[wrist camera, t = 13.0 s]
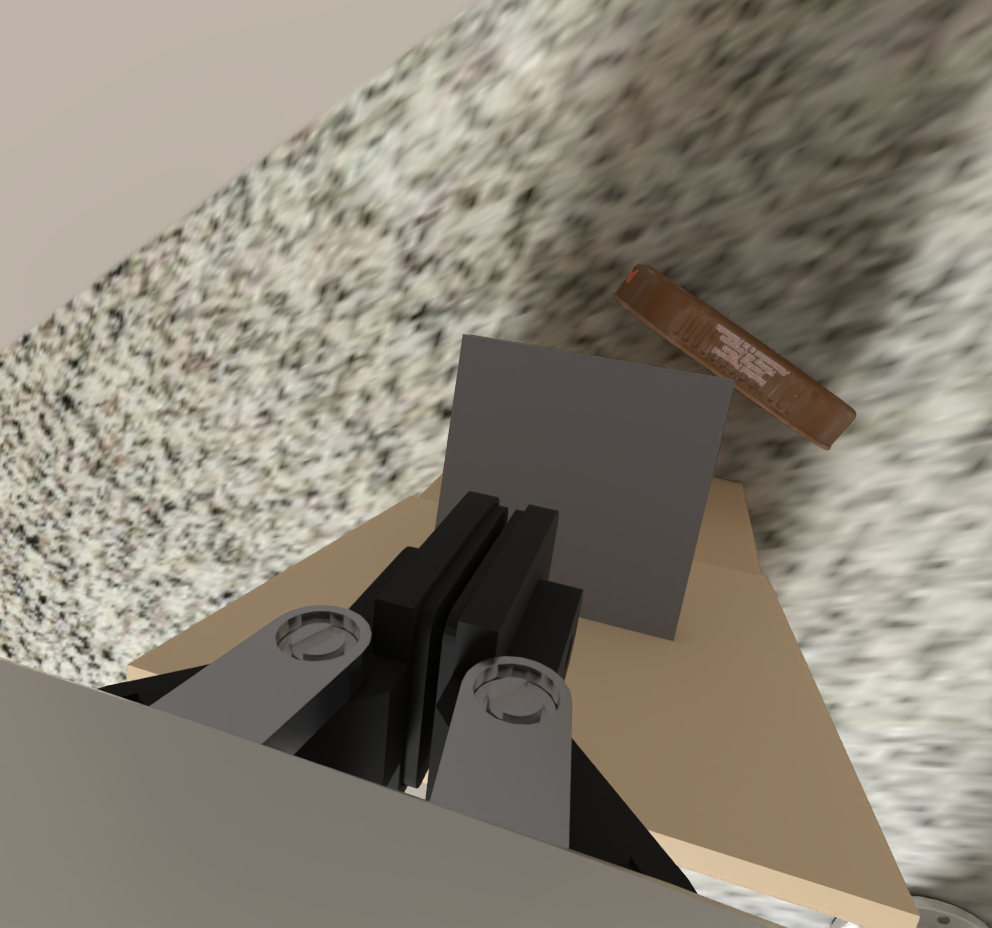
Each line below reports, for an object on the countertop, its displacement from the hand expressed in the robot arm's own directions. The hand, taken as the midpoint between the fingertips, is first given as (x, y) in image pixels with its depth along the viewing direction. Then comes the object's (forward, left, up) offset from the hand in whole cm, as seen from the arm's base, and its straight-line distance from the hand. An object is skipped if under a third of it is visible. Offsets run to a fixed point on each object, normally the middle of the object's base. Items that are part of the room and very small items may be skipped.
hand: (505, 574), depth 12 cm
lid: (-8, 0, -10) cm, 12 cm away
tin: (0, -6, -34) cm, 34 cm away
